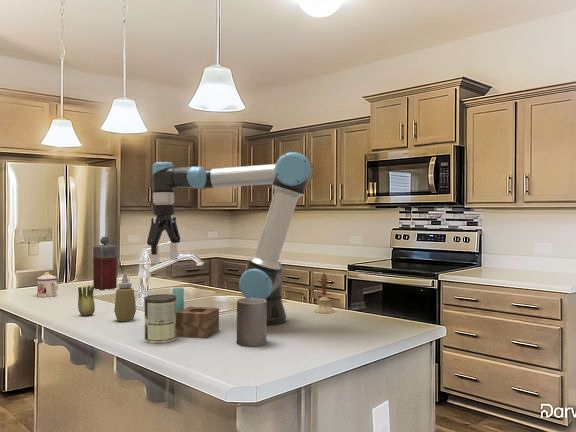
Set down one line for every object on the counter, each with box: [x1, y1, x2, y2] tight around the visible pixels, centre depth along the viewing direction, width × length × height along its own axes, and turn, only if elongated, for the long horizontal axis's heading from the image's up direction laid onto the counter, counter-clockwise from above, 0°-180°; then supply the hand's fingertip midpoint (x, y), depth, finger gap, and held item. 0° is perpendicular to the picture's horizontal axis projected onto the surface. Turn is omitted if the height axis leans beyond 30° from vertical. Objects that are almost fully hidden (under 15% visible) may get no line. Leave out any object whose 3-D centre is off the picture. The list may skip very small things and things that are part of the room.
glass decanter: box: [92, 236, 118, 291], centre depth 279 cm, size 9×11×28 cm
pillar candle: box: [235, 296, 267, 348], centre depth 166 cm, size 10×10×15 cm
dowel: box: [172, 287, 185, 312], centre depth 188 cm, size 4×4×14 cm
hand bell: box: [314, 273, 335, 314], centre depth 217 cm, size 8×8×16 cm
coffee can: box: [143, 293, 177, 344], centre depth 170 cm, size 10×10×14 cm
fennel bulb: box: [77, 285, 96, 317], centre depth 208 cm, size 6×5×12 cm
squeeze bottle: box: [113, 273, 137, 322], centre depth 199 cm, size 8×8×18 cm
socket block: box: [176, 306, 220, 339], centre depth 179 cm, size 11×11×8 cm
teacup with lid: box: [36, 271, 59, 298], centre depth 254 cm, size 12×9×12 cm
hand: (165, 261), depth 191 cm, fingers open, 13 cm apart
